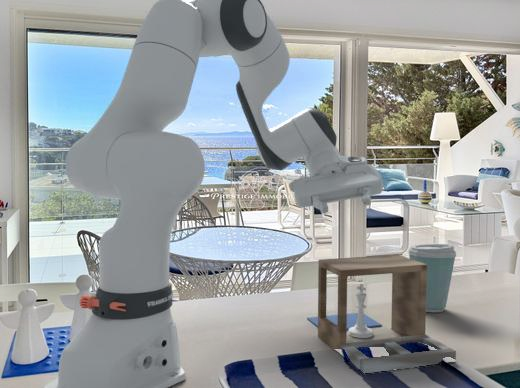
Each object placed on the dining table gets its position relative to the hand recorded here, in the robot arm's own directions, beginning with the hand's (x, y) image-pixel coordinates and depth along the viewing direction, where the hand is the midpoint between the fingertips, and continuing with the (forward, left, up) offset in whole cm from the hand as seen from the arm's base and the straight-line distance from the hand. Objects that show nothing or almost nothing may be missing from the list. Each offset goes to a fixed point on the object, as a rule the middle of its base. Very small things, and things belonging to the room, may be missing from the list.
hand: (346, 206), depth 117 cm
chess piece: (-10, -6, -24) cm, 27 cm away
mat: (-4, -1, -24) cm, 25 cm away
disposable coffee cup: (+14, -16, -24) cm, 32 cm away
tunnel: (-16, -12, -24) cm, 31 cm away
